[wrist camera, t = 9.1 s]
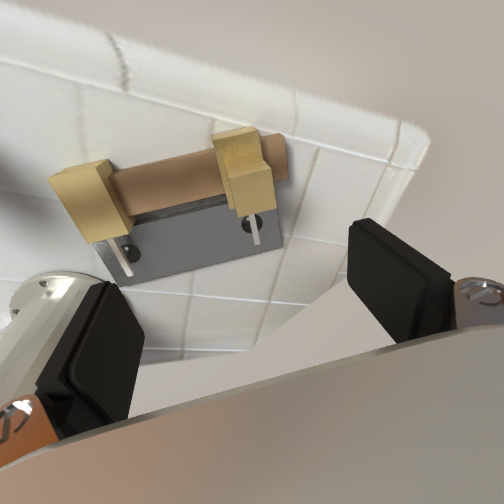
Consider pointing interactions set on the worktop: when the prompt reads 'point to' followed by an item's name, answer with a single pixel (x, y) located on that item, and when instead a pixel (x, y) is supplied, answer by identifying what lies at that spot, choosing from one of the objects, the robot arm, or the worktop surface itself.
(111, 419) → the robot arm
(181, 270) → the hole plate
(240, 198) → the slider head
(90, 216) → the rail
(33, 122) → the worktop surface
